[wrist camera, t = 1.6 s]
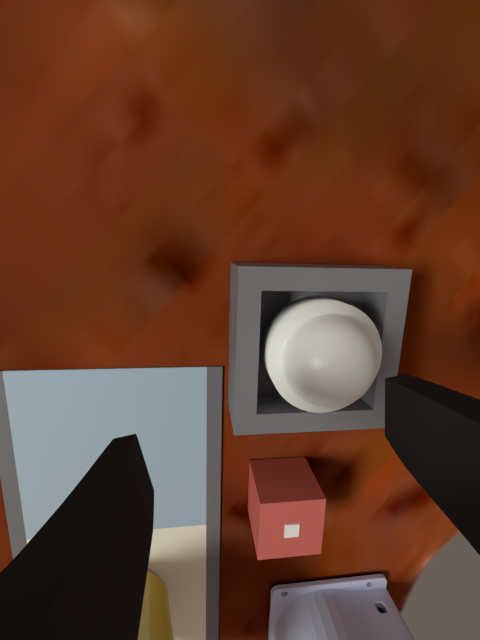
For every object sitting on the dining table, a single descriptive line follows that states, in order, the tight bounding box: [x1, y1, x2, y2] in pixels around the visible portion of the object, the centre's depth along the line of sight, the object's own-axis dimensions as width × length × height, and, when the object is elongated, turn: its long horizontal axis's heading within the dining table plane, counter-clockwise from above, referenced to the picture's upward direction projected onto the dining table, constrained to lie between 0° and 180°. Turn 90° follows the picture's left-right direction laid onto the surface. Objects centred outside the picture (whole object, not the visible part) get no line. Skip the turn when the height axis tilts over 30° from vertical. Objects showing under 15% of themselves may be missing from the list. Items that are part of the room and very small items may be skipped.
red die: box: [248, 457, 326, 560], centre depth 21 cm, size 4×4×4 cm
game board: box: [0, 366, 223, 640], centre depth 23 cm, size 14×24×1 cm, turn 178°
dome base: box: [228, 262, 412, 435], centre depth 19 cm, size 9×9×4 cm
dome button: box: [262, 296, 382, 413], centre depth 17 cm, size 6×6×5 cm
